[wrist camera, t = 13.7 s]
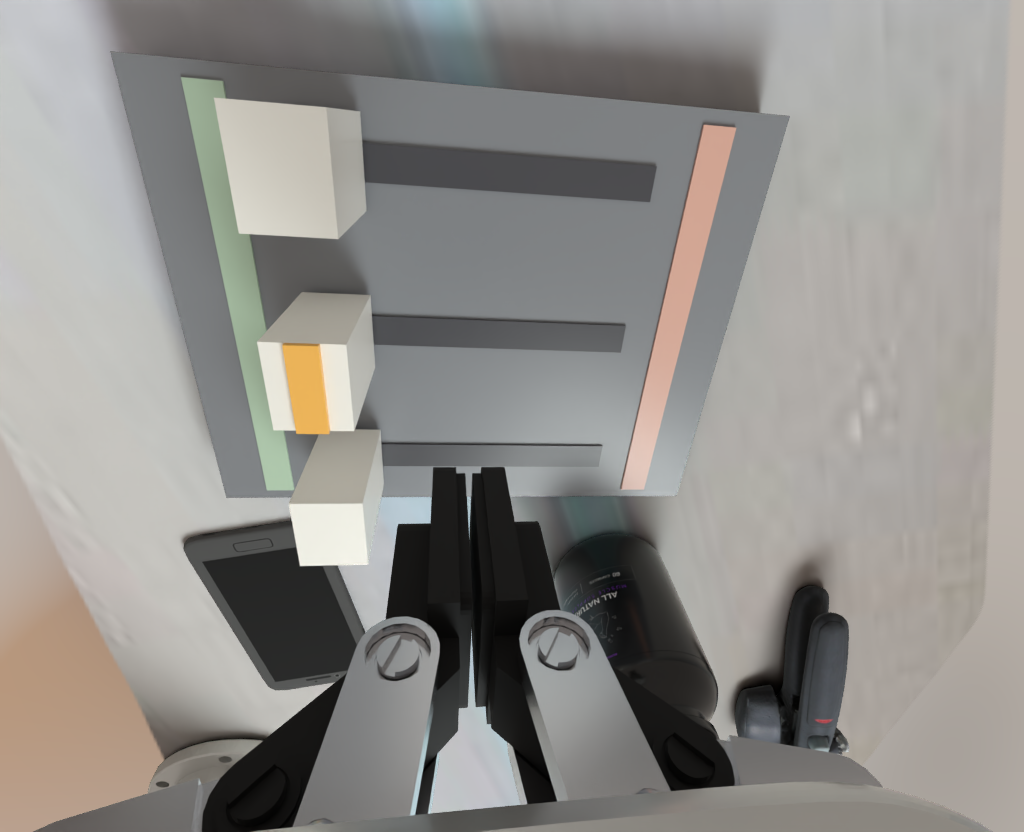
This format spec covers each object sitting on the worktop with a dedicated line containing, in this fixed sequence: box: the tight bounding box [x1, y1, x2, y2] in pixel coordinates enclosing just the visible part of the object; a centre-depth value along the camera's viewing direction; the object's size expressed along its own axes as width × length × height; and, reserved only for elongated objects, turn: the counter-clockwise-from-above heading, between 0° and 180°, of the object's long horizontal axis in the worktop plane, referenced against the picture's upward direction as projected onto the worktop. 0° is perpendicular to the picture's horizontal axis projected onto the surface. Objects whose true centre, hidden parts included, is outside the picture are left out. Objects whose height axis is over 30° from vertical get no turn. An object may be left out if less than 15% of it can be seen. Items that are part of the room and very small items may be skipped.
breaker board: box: [110, 51, 790, 498], centre depth 21 cm, size 17×22×2 cm
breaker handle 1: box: [214, 98, 367, 239], centre depth 15 cm, size 3×2×5 cm
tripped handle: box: [257, 292, 375, 434], centre depth 18 cm, size 3×2×5 cm
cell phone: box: [184, 521, 365, 690], centre depth 31 cm, size 7×14×1 cm, turn 7°
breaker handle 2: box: [289, 429, 384, 566], centre depth 21 cm, size 3×2×5 cm
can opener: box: [735, 586, 849, 755], centre depth 36 cm, size 18×7×6 cm, turn 4°
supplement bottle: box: [554, 534, 720, 740], centre depth 26 cm, size 7×7×12 cm
